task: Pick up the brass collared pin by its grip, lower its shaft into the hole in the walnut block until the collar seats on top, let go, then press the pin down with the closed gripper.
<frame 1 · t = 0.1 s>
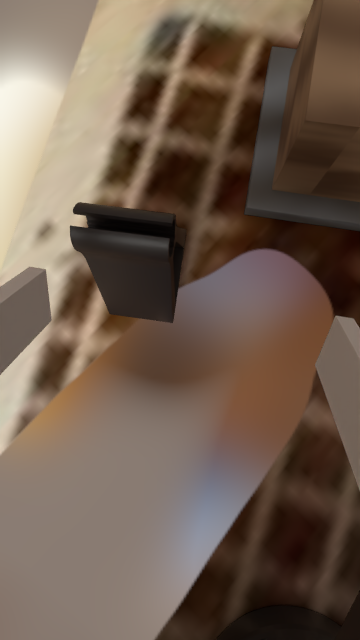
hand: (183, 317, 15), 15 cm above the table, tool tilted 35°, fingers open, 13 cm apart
walnut block: (339, 146, 31), on the table
phone stand: (149, 272, 31), on the table
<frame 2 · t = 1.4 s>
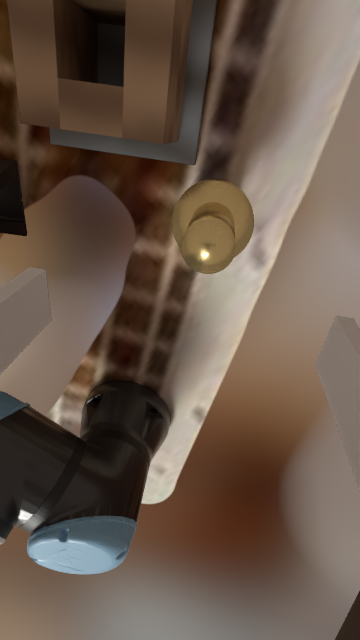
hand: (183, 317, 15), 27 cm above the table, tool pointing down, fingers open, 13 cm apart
walnut block: (128, 64, 32), on the table
phone stand: (0, 196, 41), on the table
brass pin: (215, 205, 38), on the table
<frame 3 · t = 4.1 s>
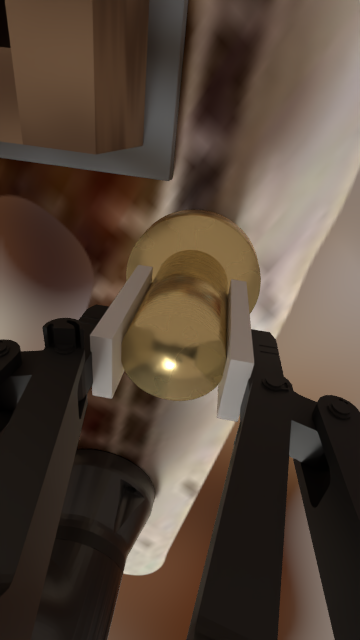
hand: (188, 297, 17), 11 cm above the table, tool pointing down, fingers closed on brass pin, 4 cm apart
walnut block: (61, 26, 21), on the table
brass pin: (203, 236, 26), on the table, touching gripper
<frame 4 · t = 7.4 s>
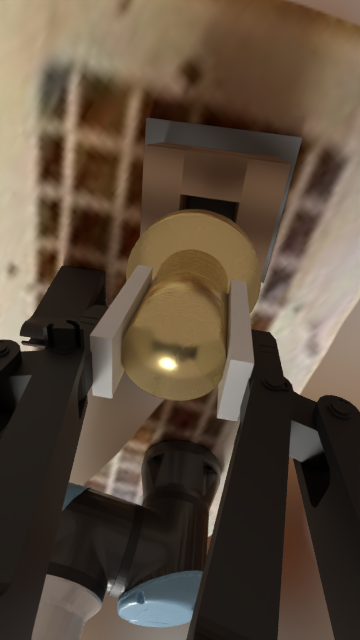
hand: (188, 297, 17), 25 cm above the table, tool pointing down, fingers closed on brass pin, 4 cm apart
walnut block: (211, 205, 38), on the table
phone stand: (86, 296, 47), on the table
brass pin: (204, 236, 26), point 14 cm above the table, touching gripper
when the fingers open (14 cm above the table, at t = 11.0 s): brass pin stays where it is, resting on walnut block.
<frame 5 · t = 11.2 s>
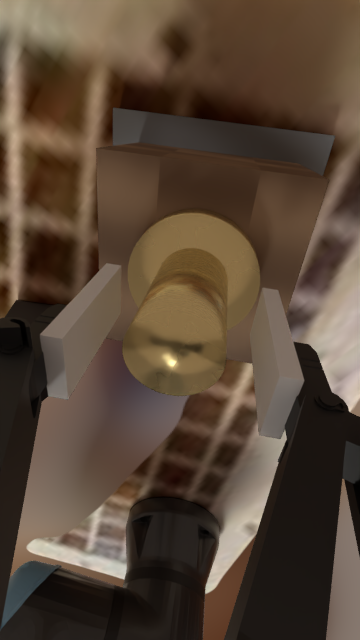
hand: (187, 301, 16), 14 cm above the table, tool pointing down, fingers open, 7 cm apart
walnut block: (206, 227, 29), on the table
phone stand: (50, 335, 38), on the table
brass pin: (204, 235, 26), point 2 cm above the table, touching walnut block
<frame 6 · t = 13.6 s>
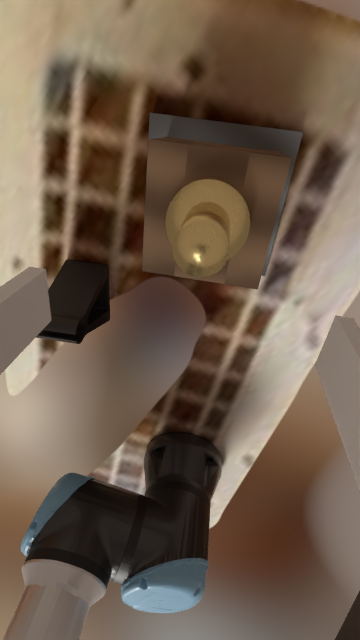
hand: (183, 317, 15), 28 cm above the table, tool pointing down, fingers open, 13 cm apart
walnut block: (213, 199, 39), on the table
phone stand: (90, 289, 48), on the table
brass pin: (212, 203, 37), point 2 cm above the table, touching walnut block
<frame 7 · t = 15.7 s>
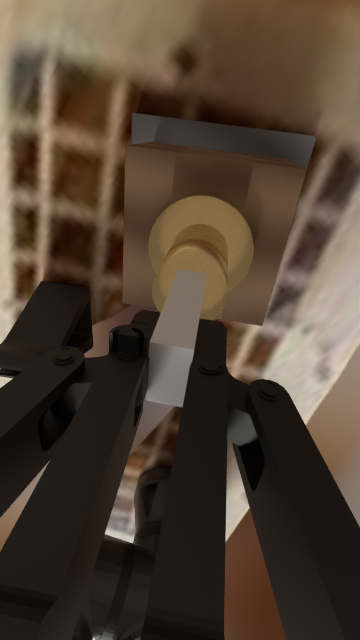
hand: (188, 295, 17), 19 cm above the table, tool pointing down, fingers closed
walnut block: (209, 214, 33), on the table
phone stand: (69, 313, 42), on the table
brass pin: (207, 220, 31), point 2 cm above the table, touching gripper, walnut block
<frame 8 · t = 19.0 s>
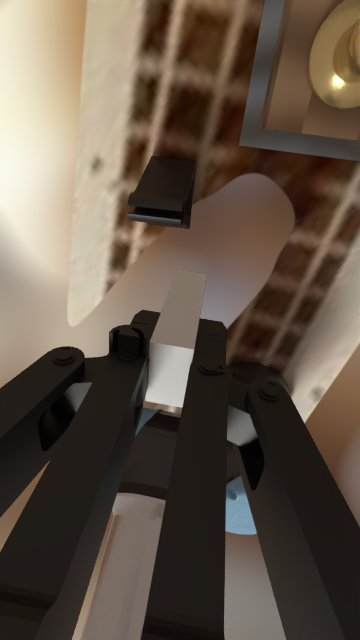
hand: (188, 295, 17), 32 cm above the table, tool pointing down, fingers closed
walnut block: (323, 74, 37), on the table
phone stand: (171, 193, 46), on the table
brass pin: (328, 71, 35), point 2 cm above the table, touching walnut block
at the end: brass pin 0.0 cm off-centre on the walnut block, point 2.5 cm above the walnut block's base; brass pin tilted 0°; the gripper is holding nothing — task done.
